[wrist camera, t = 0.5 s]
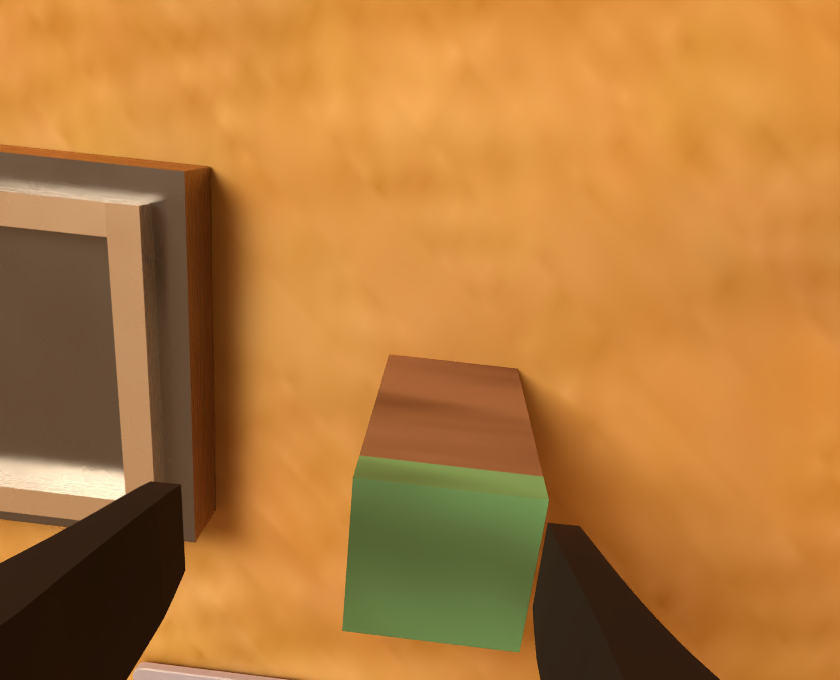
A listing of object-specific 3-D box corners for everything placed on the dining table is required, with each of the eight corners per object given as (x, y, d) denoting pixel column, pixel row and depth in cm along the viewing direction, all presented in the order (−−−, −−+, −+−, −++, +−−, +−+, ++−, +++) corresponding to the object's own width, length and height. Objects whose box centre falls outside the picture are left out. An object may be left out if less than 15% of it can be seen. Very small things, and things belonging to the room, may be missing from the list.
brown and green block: (499, 480, 23) (519, 652, 16) (379, 466, 23) (342, 630, 16) (517, 368, 22) (549, 500, 14) (389, 354, 22) (352, 477, 14)
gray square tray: (215, 509, 24) (185, 557, 22) (-109, 471, 25) (-178, 513, 22) (210, 166, 20) (172, 173, 17) (-184, 125, 20) (-280, 125, 18)
